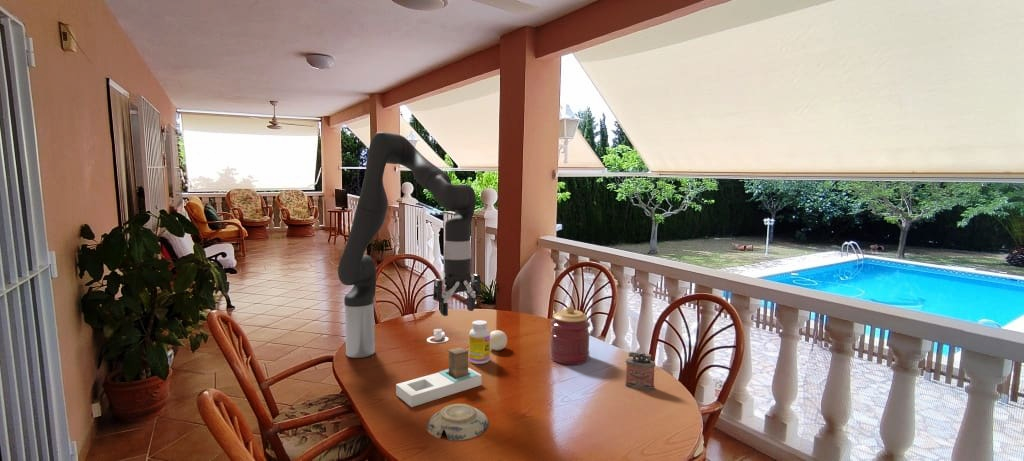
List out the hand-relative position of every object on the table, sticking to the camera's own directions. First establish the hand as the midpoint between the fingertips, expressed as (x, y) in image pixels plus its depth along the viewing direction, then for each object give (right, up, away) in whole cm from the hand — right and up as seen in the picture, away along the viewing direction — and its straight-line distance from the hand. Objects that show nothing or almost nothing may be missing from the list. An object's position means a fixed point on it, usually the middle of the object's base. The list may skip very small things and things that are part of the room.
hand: (457, 312), depth 135 cm
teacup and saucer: (-9, -17, +42) cm, 46 cm away
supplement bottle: (+5, -19, +20) cm, 28 cm away
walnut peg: (0, -21, +2) cm, 21 cm away
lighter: (+52, -21, +1) cm, 56 cm away
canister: (+34, -19, +23) cm, 46 cm away
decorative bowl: (+2, -24, -20) cm, 31 cm away
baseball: (+10, -18, +31) cm, 37 cm away
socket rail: (-5, -21, -2) cm, 22 cm away
